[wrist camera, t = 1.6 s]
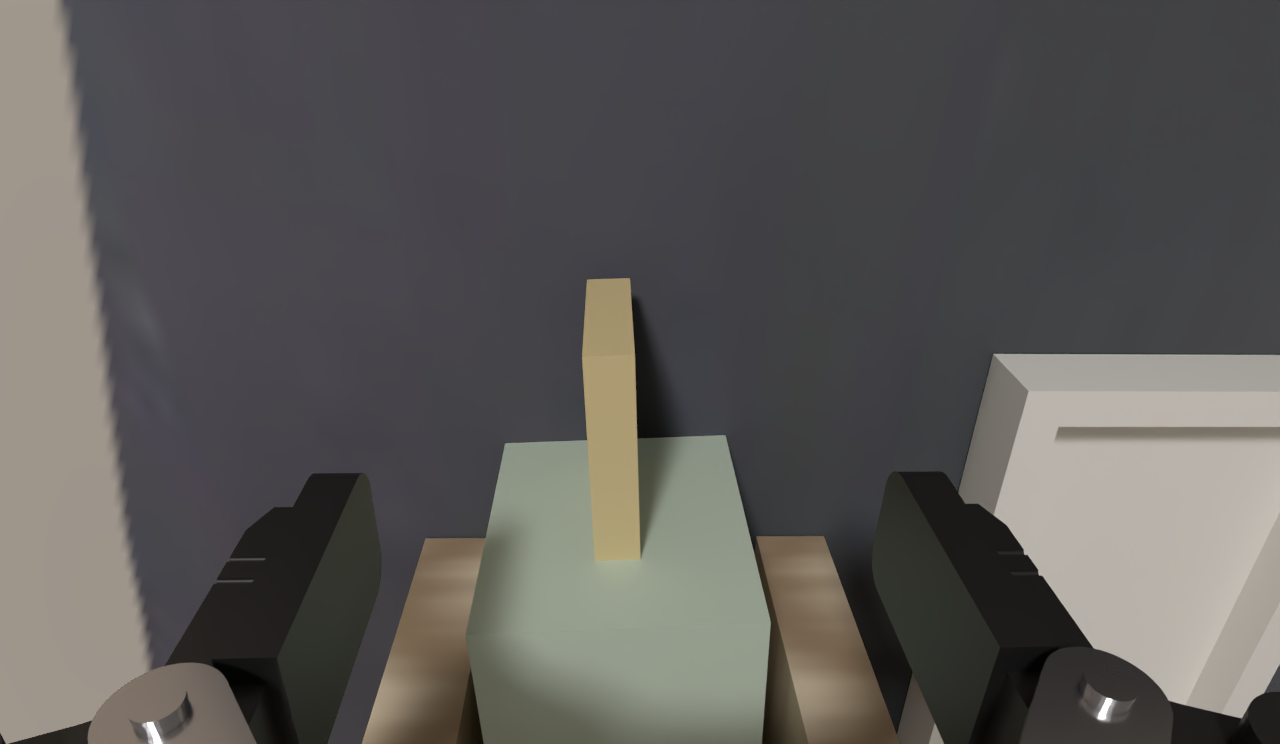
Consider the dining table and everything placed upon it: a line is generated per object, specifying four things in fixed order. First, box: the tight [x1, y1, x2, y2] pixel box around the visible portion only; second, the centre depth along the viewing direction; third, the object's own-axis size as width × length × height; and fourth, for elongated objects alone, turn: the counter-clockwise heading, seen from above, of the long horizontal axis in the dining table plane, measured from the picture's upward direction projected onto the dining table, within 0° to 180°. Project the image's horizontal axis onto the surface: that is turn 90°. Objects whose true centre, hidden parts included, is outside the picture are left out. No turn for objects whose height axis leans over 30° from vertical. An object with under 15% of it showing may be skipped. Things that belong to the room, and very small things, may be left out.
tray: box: [897, 354, 1280, 744], centre depth 25 cm, size 10×20×2 cm, turn 179°
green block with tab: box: [465, 278, 771, 744], centre depth 20 cm, size 6×17×7 cm, turn 1°
